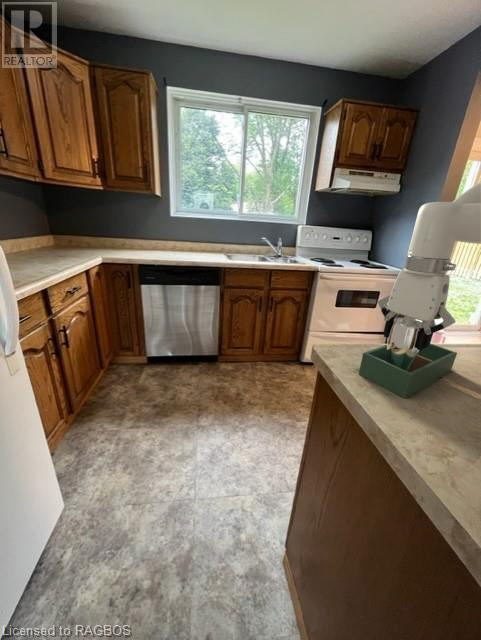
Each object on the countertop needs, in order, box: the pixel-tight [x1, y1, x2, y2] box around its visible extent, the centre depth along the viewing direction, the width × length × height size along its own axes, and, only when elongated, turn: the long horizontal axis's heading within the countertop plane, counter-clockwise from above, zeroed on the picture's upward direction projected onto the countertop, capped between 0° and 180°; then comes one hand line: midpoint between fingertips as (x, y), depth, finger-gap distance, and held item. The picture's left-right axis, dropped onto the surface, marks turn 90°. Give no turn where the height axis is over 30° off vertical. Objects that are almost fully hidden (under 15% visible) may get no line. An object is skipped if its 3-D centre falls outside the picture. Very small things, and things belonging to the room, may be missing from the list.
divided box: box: [358, 342, 458, 400], centre depth 69 cm, size 22×12×6 cm, turn 122°
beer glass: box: [386, 317, 424, 372], centre depth 64 cm, size 7×7×15 cm
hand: (404, 341), depth 63 cm, fingers closed on beer glass, 7 cm apart
